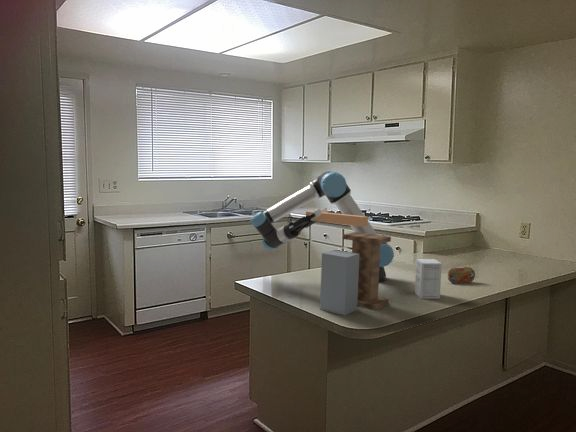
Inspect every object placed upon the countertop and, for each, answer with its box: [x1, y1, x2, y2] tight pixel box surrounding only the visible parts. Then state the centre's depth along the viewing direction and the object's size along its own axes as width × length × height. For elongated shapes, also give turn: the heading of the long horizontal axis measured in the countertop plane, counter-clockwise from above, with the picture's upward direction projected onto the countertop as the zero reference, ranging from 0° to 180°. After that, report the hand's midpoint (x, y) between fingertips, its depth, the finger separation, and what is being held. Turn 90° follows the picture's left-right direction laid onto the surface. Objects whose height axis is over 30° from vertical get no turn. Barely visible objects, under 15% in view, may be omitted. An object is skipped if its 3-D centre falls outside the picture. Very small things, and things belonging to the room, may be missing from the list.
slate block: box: [319, 249, 359, 316], centre depth 202 cm, size 12×10×24 cm
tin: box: [447, 266, 476, 285], centre depth 252 cm, size 15×3×8 cm, turn 105°
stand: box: [342, 231, 392, 311], centre depth 212 cm, size 18×12×30 cm, turn 52°
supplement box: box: [414, 258, 443, 300], centre depth 225 cm, size 10×9×17 cm
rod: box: [305, 210, 369, 227], centre depth 213 cm, size 30×4×4 cm, turn 51°
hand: (323, 211), depth 217 cm, fingers closed on rod, 4 cm apart
